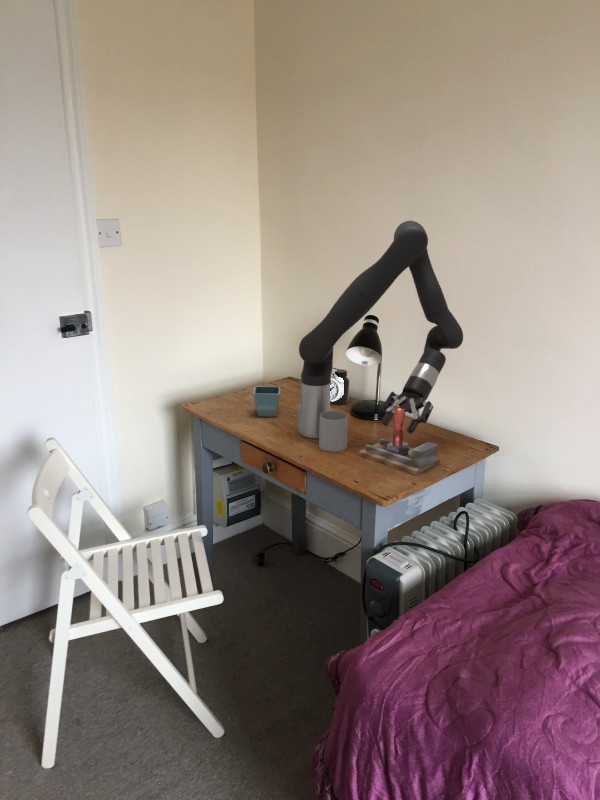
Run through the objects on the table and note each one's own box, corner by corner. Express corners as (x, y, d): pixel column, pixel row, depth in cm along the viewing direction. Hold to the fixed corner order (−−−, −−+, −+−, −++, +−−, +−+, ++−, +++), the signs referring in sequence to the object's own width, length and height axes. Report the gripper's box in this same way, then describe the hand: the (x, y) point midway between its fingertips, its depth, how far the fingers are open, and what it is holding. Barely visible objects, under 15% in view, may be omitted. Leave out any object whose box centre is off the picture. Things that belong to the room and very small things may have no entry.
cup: (330, 439, 204) (331, 409, 201) (351, 445, 199) (353, 414, 196) (313, 446, 198) (314, 415, 194) (335, 453, 193) (336, 422, 190)
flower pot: (279, 410, 229) (279, 386, 227) (279, 418, 221) (279, 393, 218) (255, 410, 229) (254, 386, 226) (254, 418, 221) (253, 393, 218)
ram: (386, 454, 189) (388, 408, 184) (396, 449, 192) (399, 404, 188) (397, 457, 186) (400, 411, 182) (407, 453, 190) (410, 407, 185)
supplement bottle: (336, 406, 234) (337, 374, 230) (326, 401, 240) (327, 369, 236) (352, 403, 238) (353, 371, 234) (341, 398, 243) (342, 367, 239)
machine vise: (358, 455, 192) (359, 435, 190) (383, 444, 200) (384, 425, 198) (415, 475, 179) (417, 454, 177) (439, 462, 187) (441, 442, 185)
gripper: (396, 370, 192) (371, 416, 188) (438, 380, 183) (412, 428, 178) (405, 383, 197) (381, 428, 193) (446, 393, 188) (421, 441, 184)
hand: (396, 428), depth 186 cm, fingers open, 8 cm apart
